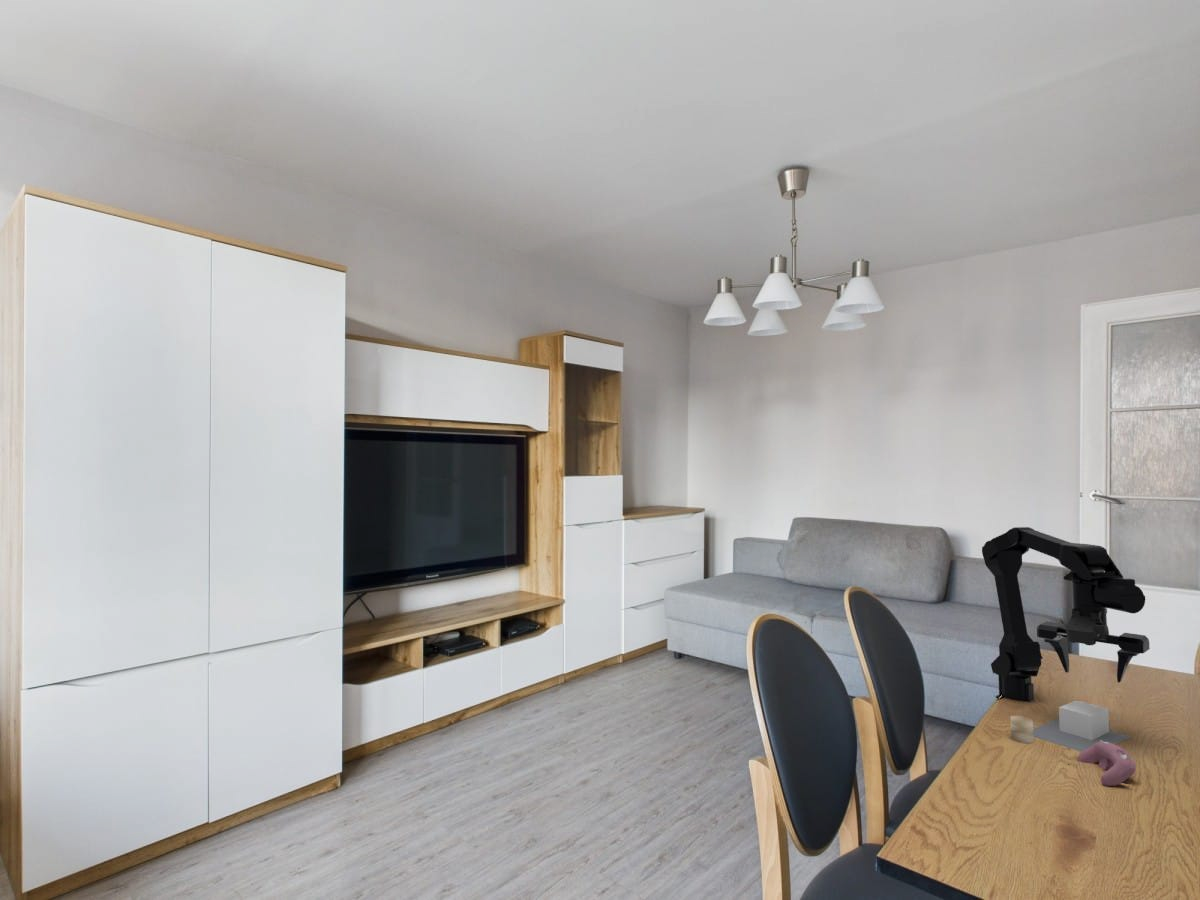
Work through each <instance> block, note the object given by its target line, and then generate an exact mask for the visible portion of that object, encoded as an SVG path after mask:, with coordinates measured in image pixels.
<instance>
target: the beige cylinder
mask: <svg viewBox="0 0 1200 900" xmlns="http://www.w3.org/2000/svg"><path fill="white" fill-rule="evenodd" d="M1033 729H1034V720H1033V719H1031V718H1030V717H1026V716H1022V715H1011V716H1010V737H1011V740H1013V741H1015V742H1017V743H1021V744H1033V743H1034V742H1035V739H1034V738H1035V737H1034V730H1033Z"/></svg>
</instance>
